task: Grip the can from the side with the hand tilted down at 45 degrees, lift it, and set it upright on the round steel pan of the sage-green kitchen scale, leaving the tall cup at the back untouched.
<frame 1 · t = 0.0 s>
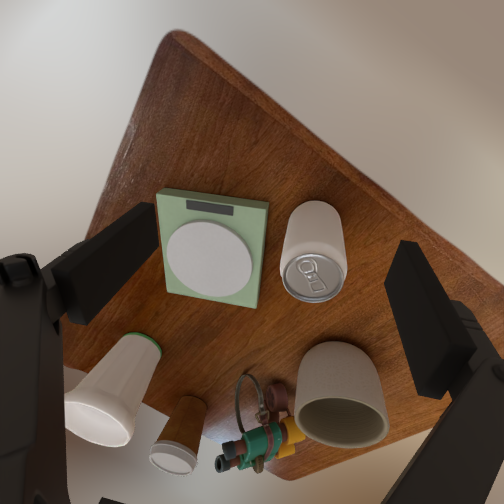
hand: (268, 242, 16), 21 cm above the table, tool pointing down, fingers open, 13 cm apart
disposable coffee cup: (193, 403, 65), on the table
cup: (142, 346, 58), on the table
binoculars: (269, 389, 57), on the table
can: (314, 222, 37), on the table
scale: (215, 247, 42), on the table
planter: (336, 357, 49), on the table
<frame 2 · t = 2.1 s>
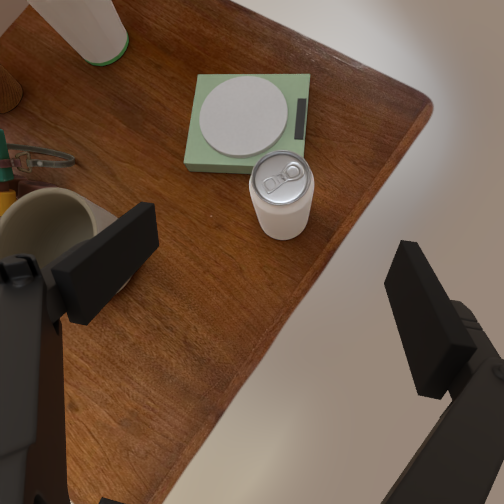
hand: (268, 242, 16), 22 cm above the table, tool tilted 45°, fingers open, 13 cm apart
disposable coffee cup: (7, 97, 49), on the table
cup: (106, 45, 49), on the table
binoculars: (42, 190, 45), on the table
can: (283, 217, 39), on the table
scale: (249, 128, 42), on the table
planter: (106, 261, 41), on the table
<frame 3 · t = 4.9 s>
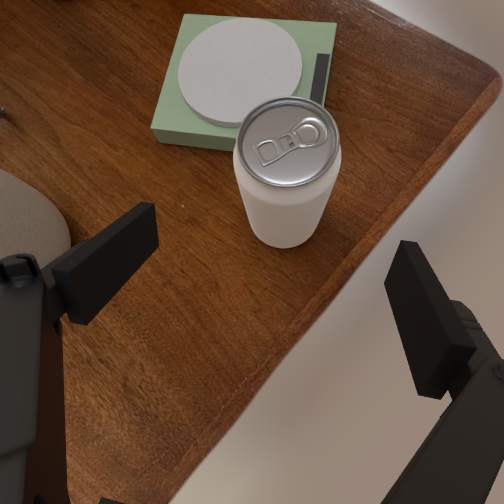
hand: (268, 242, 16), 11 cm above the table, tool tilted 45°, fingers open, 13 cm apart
can: (283, 217, 28), on the table
scale: (247, 93, 31), on the table
planter: (30, 256, 29), on the table
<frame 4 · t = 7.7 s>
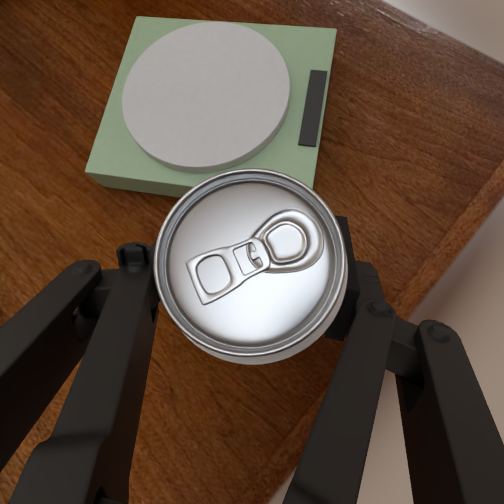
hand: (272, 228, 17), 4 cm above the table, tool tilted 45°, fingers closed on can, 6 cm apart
can: (265, 293, 20), on the table, touching gripper
scale: (219, 120, 24), on the table
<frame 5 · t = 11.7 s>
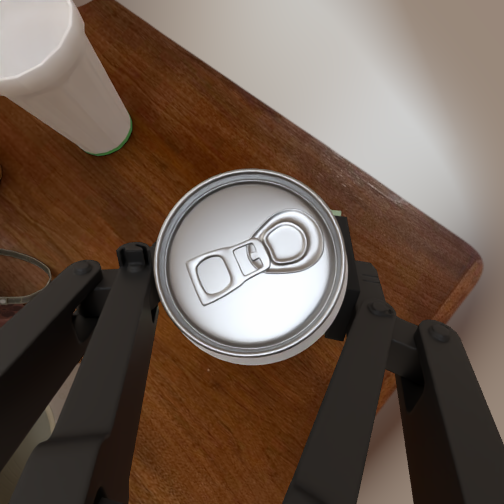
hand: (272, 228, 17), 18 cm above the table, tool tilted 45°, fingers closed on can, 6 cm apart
cup: (105, 130, 42), on the table
binoculars: (9, 303, 37), on the table
can: (265, 294, 20), point 15 cm above the table, touching gripper
planter: (76, 411, 34), on the table
when the fingers open (7 cm above the table, at t = 16.0 s): can stays where it is, resting on scale.
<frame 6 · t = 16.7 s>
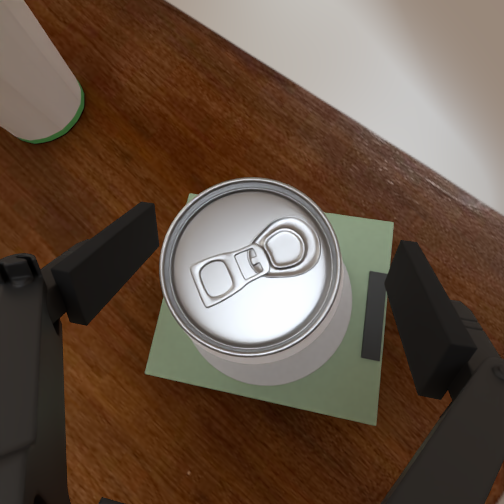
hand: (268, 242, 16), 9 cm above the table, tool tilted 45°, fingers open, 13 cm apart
cup: (47, 108, 30), on the table
can: (264, 295, 21), point 3 cm above the table, touching scale
scale: (272, 298, 24), on the table
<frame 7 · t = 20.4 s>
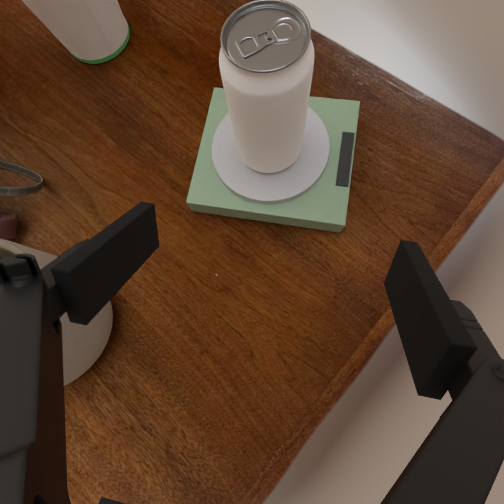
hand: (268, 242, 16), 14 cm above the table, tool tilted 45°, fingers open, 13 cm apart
cup: (100, 39, 39), on the table
can: (269, 147, 30), point 3 cm above the table, touching scale
scale: (274, 163, 33), on the table
planter: (71, 323, 31), on the table
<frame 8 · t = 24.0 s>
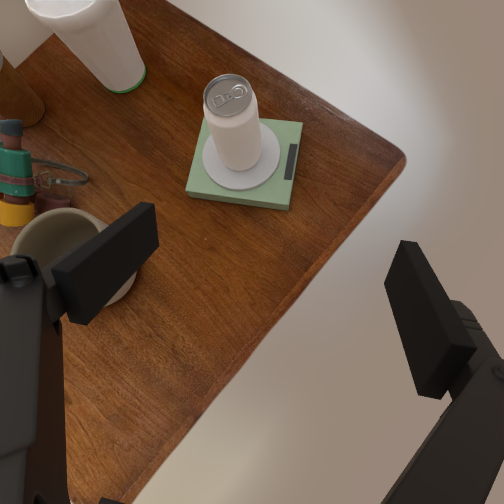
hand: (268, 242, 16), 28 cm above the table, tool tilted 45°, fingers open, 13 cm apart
disposable coffee cup: (30, 113, 54), on the table
cup: (124, 75, 54), on the table
binoculars: (55, 200, 50), on the table
can: (240, 154, 45), point 3 cm above the table, touching scale
scale: (246, 164, 48), on the table
planter: (108, 271, 46), on the table
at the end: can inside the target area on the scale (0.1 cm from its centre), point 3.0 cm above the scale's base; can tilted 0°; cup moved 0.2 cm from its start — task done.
